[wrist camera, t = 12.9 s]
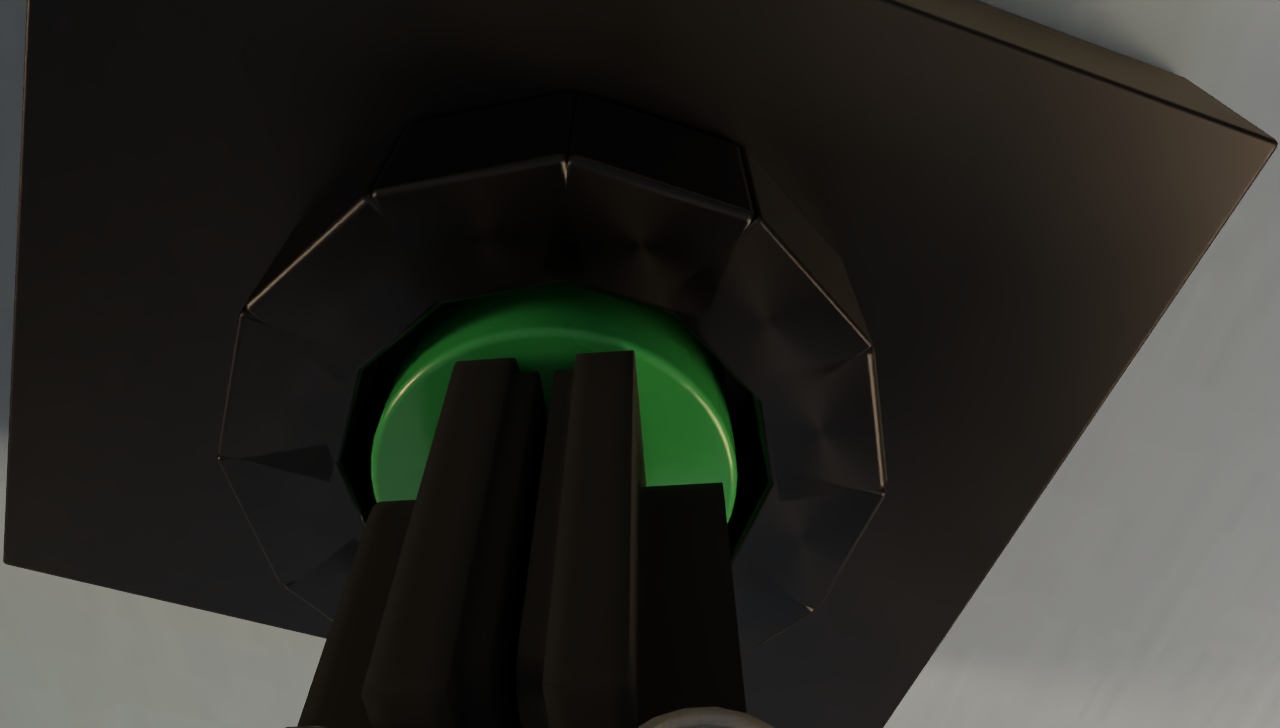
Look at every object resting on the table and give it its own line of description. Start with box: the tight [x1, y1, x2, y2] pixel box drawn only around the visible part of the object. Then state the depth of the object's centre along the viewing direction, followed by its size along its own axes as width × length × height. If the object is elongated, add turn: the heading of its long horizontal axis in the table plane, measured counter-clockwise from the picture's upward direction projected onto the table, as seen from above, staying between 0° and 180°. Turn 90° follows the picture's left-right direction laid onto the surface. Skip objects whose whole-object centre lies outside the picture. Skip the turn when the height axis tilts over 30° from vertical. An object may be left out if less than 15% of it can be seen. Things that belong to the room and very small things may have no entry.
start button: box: [371, 282, 738, 524], centre depth 11 cm, size 4×4×2 cm
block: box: [3, 0, 1278, 728], centre depth 12 cm, size 12×10×4 cm
